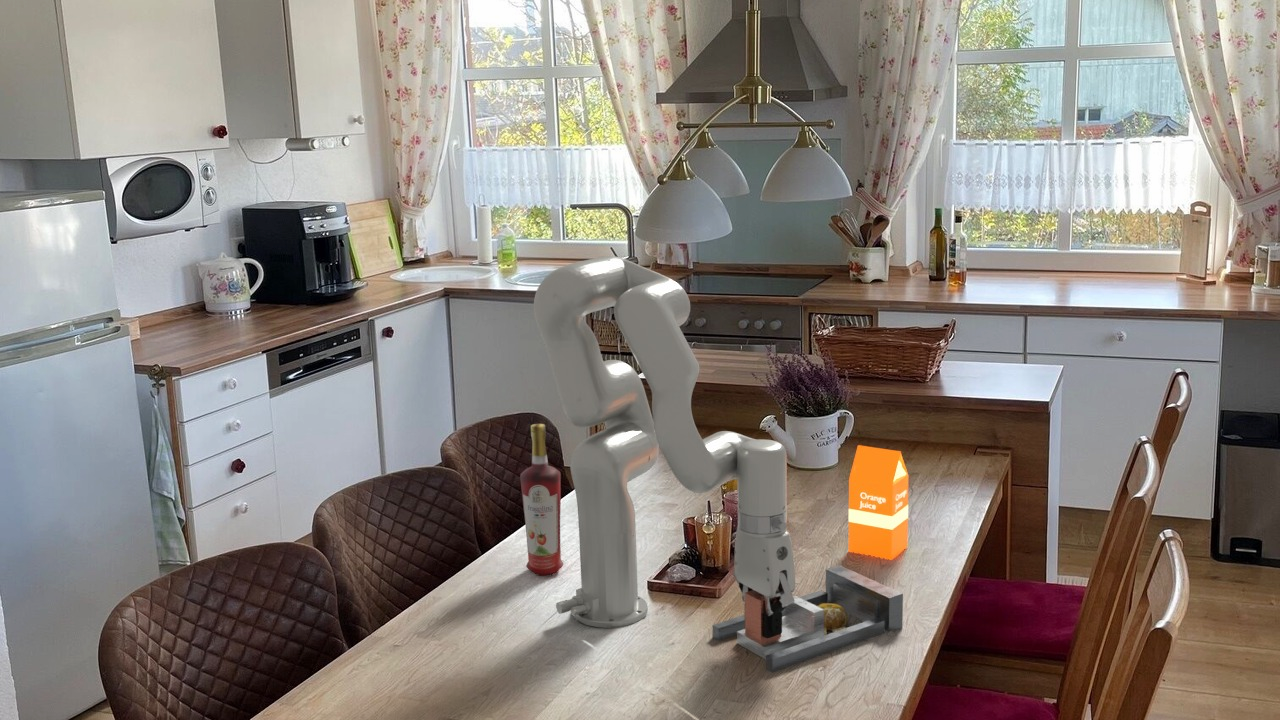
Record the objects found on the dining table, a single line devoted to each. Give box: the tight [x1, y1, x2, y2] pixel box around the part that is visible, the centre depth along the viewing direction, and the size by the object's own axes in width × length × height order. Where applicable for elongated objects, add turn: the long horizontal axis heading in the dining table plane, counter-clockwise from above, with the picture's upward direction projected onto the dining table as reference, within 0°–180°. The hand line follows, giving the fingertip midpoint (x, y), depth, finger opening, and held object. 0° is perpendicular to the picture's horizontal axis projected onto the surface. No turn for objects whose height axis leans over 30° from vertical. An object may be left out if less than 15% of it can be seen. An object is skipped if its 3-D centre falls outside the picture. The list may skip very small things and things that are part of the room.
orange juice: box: [848, 444, 909, 561], centre depth 232 cm, size 8×9×20 cm
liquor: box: [519, 423, 564, 577], centre depth 226 cm, size 7×7×28 cm
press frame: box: [712, 564, 904, 673], centre depth 199 cm, size 27×15×6 cm, turn 123°
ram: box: [736, 590, 824, 660], centre depth 196 cm, size 12×7×9 cm, turn 123°
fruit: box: [817, 602, 848, 636], centre depth 201 cm, size 8×8×4 cm
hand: (763, 629), depth 194 cm, fingers closed on ram, 4 cm apart
